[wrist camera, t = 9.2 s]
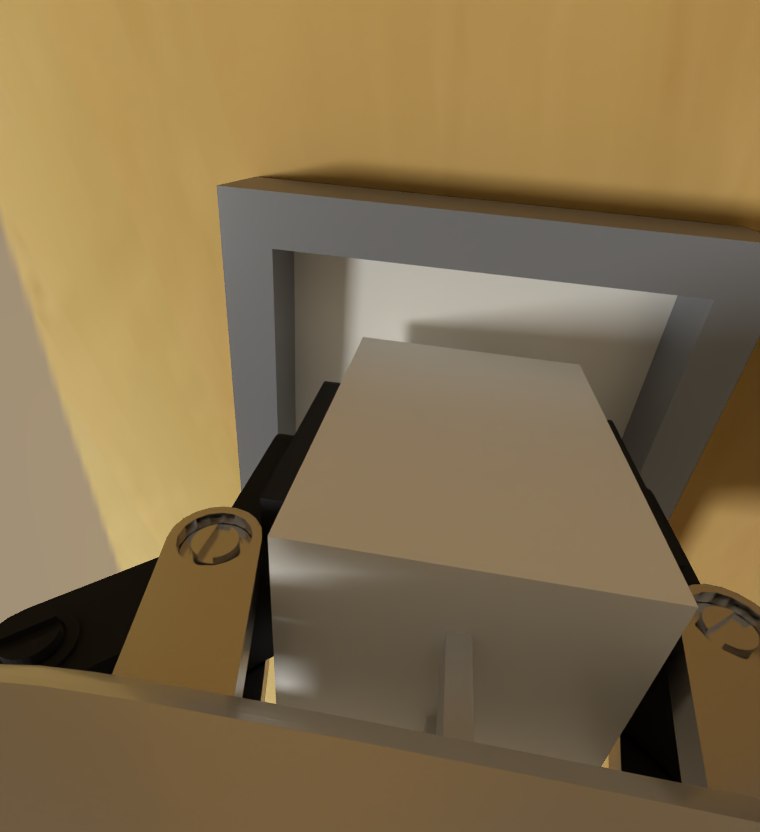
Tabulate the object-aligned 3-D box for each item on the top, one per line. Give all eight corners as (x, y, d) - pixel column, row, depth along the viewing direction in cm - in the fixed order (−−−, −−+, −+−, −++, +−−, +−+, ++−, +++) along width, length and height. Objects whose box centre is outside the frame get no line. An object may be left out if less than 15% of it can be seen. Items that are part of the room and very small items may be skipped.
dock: (256, 176, 11) (216, 185, 9) (744, 226, 10) (804, 247, 8) (271, 524, 16) (248, 572, 14) (594, 577, 15) (611, 635, 13)
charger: (363, 336, 11) (221, 631, 4) (579, 364, 10) (759, 729, 4) (352, 502, 13) (251, 847, 7) (528, 530, 12) (591, 922, 6)
